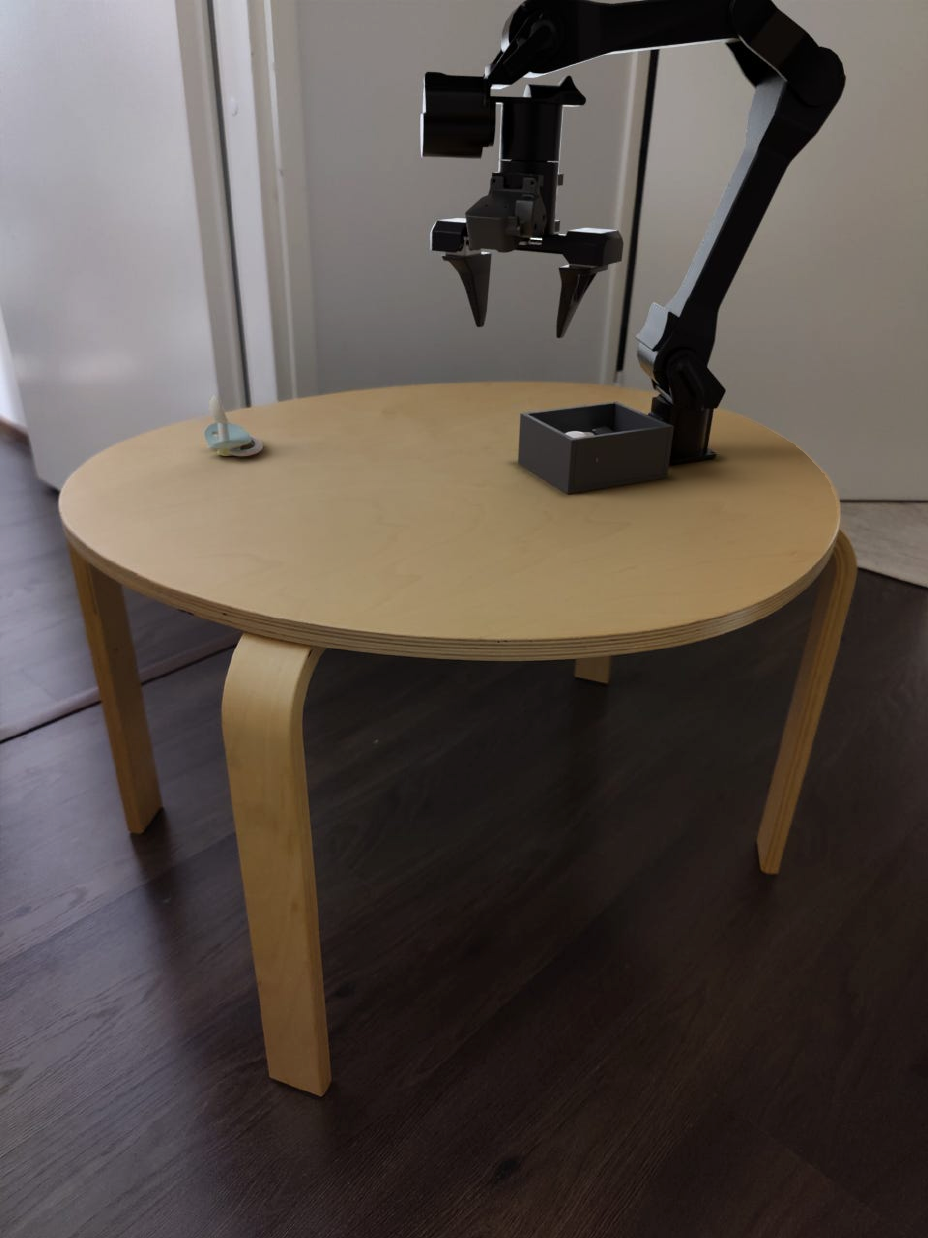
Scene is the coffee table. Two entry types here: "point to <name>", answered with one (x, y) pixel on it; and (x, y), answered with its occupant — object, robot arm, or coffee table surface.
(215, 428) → the pacifier
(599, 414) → the bin
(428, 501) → the coffee table surface
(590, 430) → the milkshake
